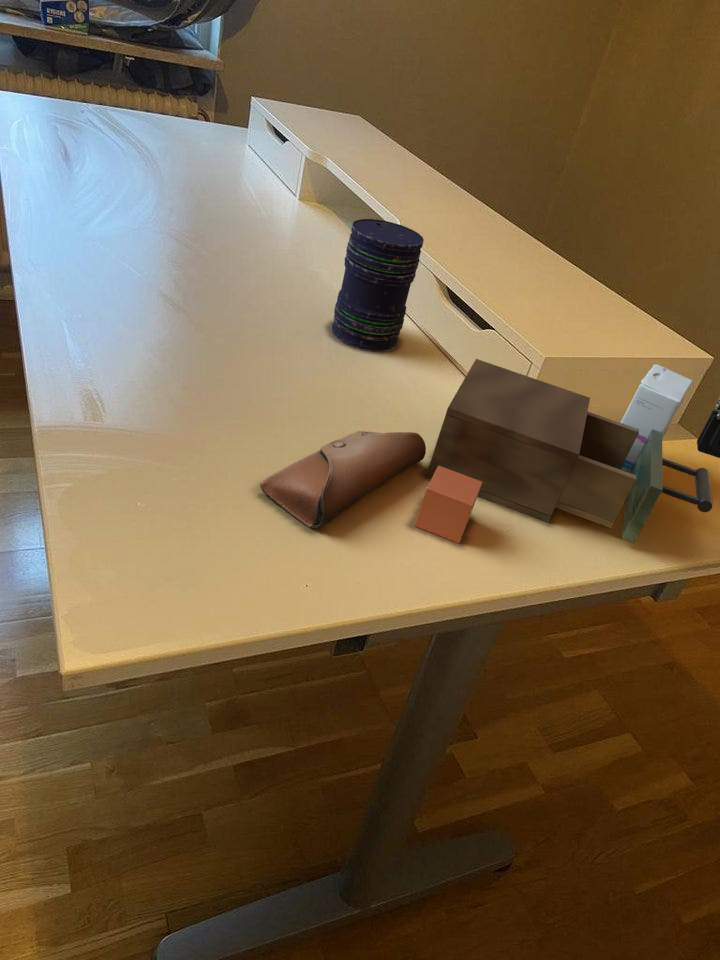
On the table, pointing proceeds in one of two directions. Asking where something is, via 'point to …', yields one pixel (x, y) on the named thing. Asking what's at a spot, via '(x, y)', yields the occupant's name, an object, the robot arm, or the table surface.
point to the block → (448, 504)
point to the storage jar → (376, 284)
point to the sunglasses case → (342, 474)
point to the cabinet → (512, 437)
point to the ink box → (654, 407)
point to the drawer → (623, 477)
